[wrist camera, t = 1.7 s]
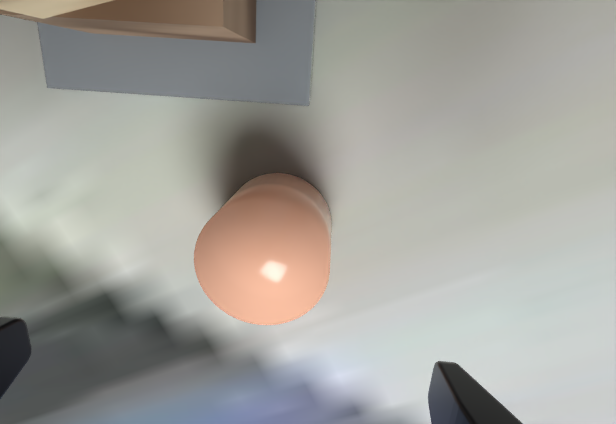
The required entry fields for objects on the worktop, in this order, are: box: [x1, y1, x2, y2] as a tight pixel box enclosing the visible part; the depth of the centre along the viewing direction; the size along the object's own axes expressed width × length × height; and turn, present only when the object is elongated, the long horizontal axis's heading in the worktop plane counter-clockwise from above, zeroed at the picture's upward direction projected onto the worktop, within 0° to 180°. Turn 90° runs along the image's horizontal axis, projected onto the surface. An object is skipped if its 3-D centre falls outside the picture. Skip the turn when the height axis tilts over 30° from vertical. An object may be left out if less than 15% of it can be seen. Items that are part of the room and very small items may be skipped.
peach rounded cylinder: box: [194, 173, 332, 325], centre depth 14 cm, size 4×4×4 cm
